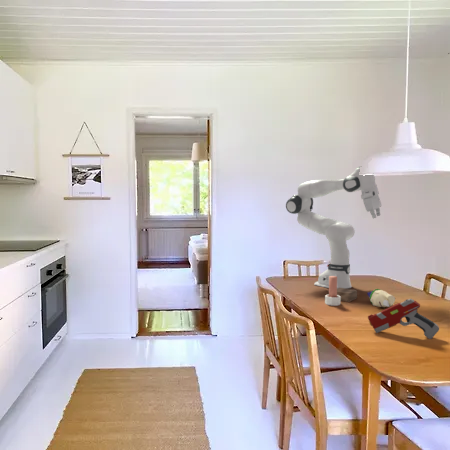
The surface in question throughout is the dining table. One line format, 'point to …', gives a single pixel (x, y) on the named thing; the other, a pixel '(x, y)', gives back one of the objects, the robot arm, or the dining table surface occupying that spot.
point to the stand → (347, 294)
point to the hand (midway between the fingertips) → (376, 216)
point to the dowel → (332, 286)
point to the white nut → (332, 300)
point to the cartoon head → (381, 298)
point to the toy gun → (400, 311)
